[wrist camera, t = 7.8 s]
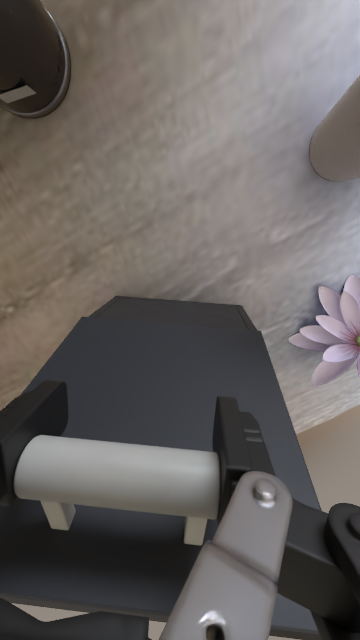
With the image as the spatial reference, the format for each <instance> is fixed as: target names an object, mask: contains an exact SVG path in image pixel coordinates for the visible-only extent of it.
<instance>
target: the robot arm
mask: <svg viewBox="0 0 360 640" xmlns="http://www.w3.org/2000/svg"><path fill="white" fill-rule="evenodd" d="M70 72H71V63H70V55H69V50H68V46H67V43H66V40H65V38H64V36H63V34H62V32H61V30H60V28H59V27H58V25H57V24H56V22H55V21H54V19H53V18H52V16H51V15H50V14H49V12H48V11H47V10H46V9H45V8H44V6H43V5H42V3H41V2H40V0H0V106H2V107H3V108H5V109H6V110H8V111H9V112H11V113H13V114H15V115H17V116H20V117H25V118H37V117H41V116H44V115H46V114H48V113H50V112H51V111H53V110H54V109H55V108H56V107H57V106H58V105H59V104H60V102H61V101H62V99H63V98H64V96H65V94H66V91H67V88H68V85H69V81H70ZM68 417H69V413H68V396H67V385H66V383H65V382H63V381H52V380H44V381H43V382H42V383H41V384H40V385H38V386H37V387H36V388H35V389H34V390H33V391H29V392H27V393H25V394H23V395H21V396H19V397H17V398H15V399H14V400H13V401H12V402H10V403H9V404H8V405H7V406H6V408H3V409H2V410H1V411H0V505H1V506H11V505H12V504H13V502H14V501H15V499H16V498H17V497H18V496H17V495H16V494H15V492H14V475H15V470H16V467H17V464H18V461H19V459H20V456H21V454H22V452H23V450H24V449H25V447H26V446H27V444H28V443H29V442H30V441H31V440H32V439H33V438H34V437H36V436H39V435H47V436H57V437H60V436H61V435H62V433H63V432H64V430H65V428H66V426H67V423H68ZM212 446H213V452H216V453H218V456H219V460H220V476H221V486H220V505H219V512H218V516H217V523H218V529H217V531H216V533H215V535H214V537H213V539H212V541H210V540H207V541H206V542H205V544H204V545H203V547H202V549H201V551H200V553H199V555H198V557H197V559H196V562H195V564H194V566H193V568H192V570H191V572H190V574H189V576H188V579H187V581H186V583H185V585H184V587H183V589H182V591H181V593H180V596H179V598H178V600H177V602H176V604H175V606H174V608H173V610H172V612H171V615H170V617H169V619H168V621H167V623H166V625H165V627H164V629H163V632H162V634H161V636H160V638H159V640H268V637H269V631H270V626H271V621H272V616H273V610H274V605H275V600H276V594H277V593H278V594H280V595H282V596H284V597H286V598H288V599H289V600H291V601H293V602H295V603H297V604H299V605H301V606H303V607H305V608H307V609H309V610H310V612H311V614H312V617H313V619H314V622H315V624H316V627H317V629H318V632H319V634H320V637H321V639H322V640H360V507H359V506H356V505H353V504H348V503H339V504H335V505H334V506H332V507H331V509H330V511H329V514H327V513H325V512H322V511H320V510H318V509H315V508H312V507H310V506H307V505H305V504H303V503H301V502H299V501H297V500H296V499H294V498H293V497H292V496H291V493H290V491H289V489H288V488H287V487H286V485H285V484H284V483H283V482H282V481H280V480H279V479H278V478H276V475H275V472H274V469H273V466H272V463H271V460H270V457H269V454H268V451H267V447H266V444H265V443H264V438H263V435H262V434H261V429H260V426H259V423H258V421H257V420H256V419H255V418H254V417H253V415H252V414H251V413H250V412H241V411H239V407H238V402H237V399H236V398H232V397H221V396H217V400H216V408H215V417H214V426H213V439H212ZM148 628H149V617H141V616H133V615H126V614H118V613H111V612H103V611H98V612H94V613H89V614H84V615H79V616H75V617H69V618H64V619H60V620H55V621H50V622H43V621H40V620H38V619H36V618H34V617H33V616H31V615H29V614H28V613H26V612H24V611H23V610H21V609H19V608H18V607H16V606H14V605H12V604H11V603H9V602H8V601H6V600H4V599H3V598H0V640H151V639H150V638H148Z"/></svg>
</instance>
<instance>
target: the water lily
mask: <svg viewBox="0 0 360 640" xmlns="http://www.w3.org/2000/svg"><path fill="white" fill-rule="evenodd" d="M318 293H319V298H320V301H321V304H322V306H323V307H324V309H325V311H326V312H327V313H328V315H329V316H326V315H318V316H316V320H317V321H318V323H319V324H320V325H321V326H318V325H312V326H306V327H303V328H301V329H300V330H299V331H300V333H297V334H295V335H292V336H291V337H290V338H289V339H288V341H289V342H290V343H291V344H293V345H295V346H297V347H300V348H303V349H308V350H316V351H325V352H324V354H323V361H322V362H321V363H320V364H319V365H318V366H317V367H316V369H315V371H314V373H313V375H312V379H311V383H312V385H322V384H326V383H328V382H331V381H333V380H334V379H336V378H338V377H339V376H340V375H342V374H343V373H344V372H345V371H347V370H348V369H349V368H350V366H351V365H352V364H353V362H354V361H355V359H356V358H357V356H358V354H359V353H360V279H359V278H358V277H357V276H355V275H351V276H349V278H348V279H347V281H346V283H345V285H344V290H343V293H342V295H341V296H340V295H339V294H338V293H337V292H335V291H334V290H332V289H330V288H328V287H324V286H320V287H319V290H318ZM357 369H358V374H359V378H360V354H359V357H358V362H357Z"/></svg>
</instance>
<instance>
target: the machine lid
mask: <svg viewBox="0 0 360 640" xmlns="http://www.w3.org/2000/svg"><path fill="white" fill-rule="evenodd" d="M44 380H52V381H63V382H65V383H66V385H67V396H68V413H69V417H68V423H67V426H66V428H65V430H64V432H63V433H62V435H61V436H60V437H57V436H47V435H39V436H36V437H34V438H33V439H32V440H31V441H30V442H29V443H28V444H27V446H26V447H25V449H24V450H23V452H22V454H21V456H20V459H19V461H18V464H17V467H16V470H15V475H14V492H15V494H16V495H17V496H18V497H17V498H16V499H15V501H14V502H13V504H12V505H11V506H1V505H0V598H3V599H4V600H6V601H8V602H9V603H16V604H24V605H33V606H40V607H49V608H56V609H64V610H72V611H80V612H88V613H94V612H98V611H103V612H111V613H118V614H126V615H133V616H141V617H149V620H151V621H159V622H167V621H168V619H169V617H170V615H171V612H172V610H173V608H174V606H175V604H176V602H177V600H178V598H179V596H180V593H181V591H182V589H183V587H184V585H185V583H186V581H187V579H188V576H189V574H190V572H191V570H192V568H193V566H194V564H195V562H196V559H197V557H198V555H199V553H200V551H201V549H202V547H203V545H204V544H205V542H206V541H207V540H210V541H212V539H213V537H214V535H215V533H216V531H217V529H218V523H217V516H218V512H219V505H220V486H221V476H220V460H219V456H218V453H216V452H213V446H212V439H213V426H214V417H215V408H216V400H217V396H221V397H232V398H236V399H237V402H238V407H239V411H241V412H250V413H251V414H252V415H253V417H254V418H255V419H256V420H257V421H258V423H259V426H260V429H261V434H262V435H263V438H264V443H265V444H266V447H267V451H268V454H269V457H270V460H271V463H272V466H273V469H274V472H275V475H276V478H278V479H279V480H280V481H282V482H283V483H284V484H285V485H286V487H287V488H288V489H289V491H290V493H291V496H292V497H293V498H294V499H296V500H297V501H299V502H301V503H303V504H305V505H307V506H310V507H312V508H315V509H318V510H320V511H321V508H320V505H319V502H318V499H317V496H316V493H315V490H314V487H313V484H312V481H311V478H310V475H309V472H308V469H307V466H306V464H305V460H304V457H303V454H302V451H301V448H300V446H299V443H298V440H297V437H296V434H295V431H294V428H293V425H292V422H291V419H290V416H289V413H288V410H287V407H286V404H285V401H284V398H283V395H282V392H281V389H280V386H279V383H278V380H277V378H276V375H275V372H274V369H273V366H272V363H271V360H270V357H269V354H268V351H267V348H266V345H265V342H264V339H263V336H262V333H261V331H252V330H240V329H227V328H215V327H203V326H190V325H178V324H165V323H153V322H140V321H128V320H115V319H103V318H90V317H82V318H81V319H80V320H79V322H78V323H77V324H76V325H75V327H74V328H73V329H72V331H71V332H70V333H69V334H68V336H67V337H66V338H65V339H64V341H63V342H62V343H61V344H60V346H59V347H58V348H57V350H56V351H55V352H54V353H53V355H52V356H51V357H50V358H49V360H48V361H47V362H46V364H45V365H44V366H43V367H42V369H41V370H40V371H39V372H38V374H37V375H36V376H35V377H34V379H33V380H32V381H31V383H30V384H29V385H28V386H27V388H26V389H25V390H24V391H23V393H22V394H21V395H23V394H25V393H27V392H29V391H33V390H34V389H35V388H36V387H37V386H38V385H40V384H41V383H42V382H43V381H44ZM21 395H20V396H21ZM269 636H277V637H286V638H293V639H301V640H322V639H321V637H320V634H319V632H318V629H317V627H316V624H315V622H314V619H313V617H312V614H311V612H310V610H309V609H307V608H305V607H303V606H301V605H299V604H297V603H295V602H293V601H291V600H289V599H288V598H286V597H284V596H282V595H280V594H278V593H277V594H276V600H275V605H274V610H273V616H272V621H271V626H270V631H269Z"/></svg>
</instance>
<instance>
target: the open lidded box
mask: <svg viewBox="0 0 360 640" xmlns="http://www.w3.org/2000/svg"><path fill="white" fill-rule="evenodd" d="M89 317H90V318H103V319H115V320H128V321H140V322H153V323H165V324H178V325H190V326H203V327H215V328H227V329H240V330H252V331H257V329H256V328H255V326H254V325H253V323H252V321H251V320H250V318H249V317H248V315H247V313H246V312H245V310H244V309H243V307H242V306H240V305H227V304H214V303H201V302H188V301H175V300H162V299H149V298H135V297H122V296H116V297H114V298H113V299H112V300H110V301H109V302H108V303H106V304H105V305H103V306H102V307H101V308H99V309H98V310H97V311H95V312H94V313H93V314H91V315H90V316H89Z"/></svg>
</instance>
